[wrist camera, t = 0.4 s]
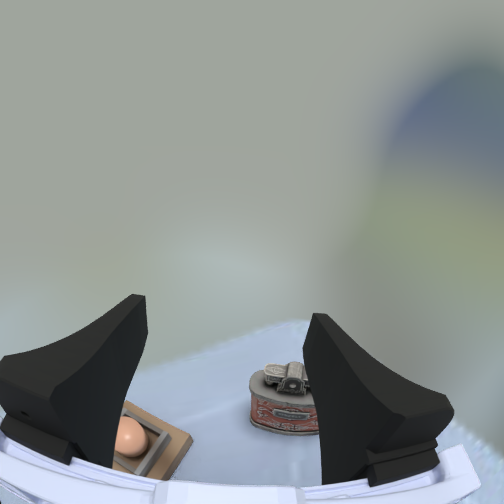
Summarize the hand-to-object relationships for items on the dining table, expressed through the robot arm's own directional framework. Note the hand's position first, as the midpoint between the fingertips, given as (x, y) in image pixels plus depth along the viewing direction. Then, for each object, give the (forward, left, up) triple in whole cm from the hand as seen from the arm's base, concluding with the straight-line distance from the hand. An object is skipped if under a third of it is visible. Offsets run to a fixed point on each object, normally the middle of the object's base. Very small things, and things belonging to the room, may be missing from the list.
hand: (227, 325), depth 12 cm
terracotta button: (-1, +10, -17) cm, 19 cm away
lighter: (+5, -5, -20) cm, 21 cm away
